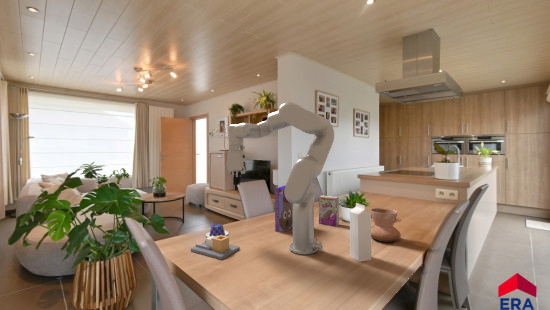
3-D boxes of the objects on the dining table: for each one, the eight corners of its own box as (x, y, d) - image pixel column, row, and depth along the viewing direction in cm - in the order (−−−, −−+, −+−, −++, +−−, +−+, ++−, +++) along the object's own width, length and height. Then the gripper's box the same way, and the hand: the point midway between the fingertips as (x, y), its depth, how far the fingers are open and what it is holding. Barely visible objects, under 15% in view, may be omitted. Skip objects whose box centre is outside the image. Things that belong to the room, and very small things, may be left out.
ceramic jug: (408, 240, 121) (407, 210, 121) (394, 247, 111) (394, 215, 112) (373, 231, 135) (372, 205, 135) (358, 237, 125) (358, 209, 125)
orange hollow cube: (229, 248, 110) (229, 236, 110) (221, 252, 106) (221, 240, 106) (220, 246, 113) (220, 235, 113) (212, 249, 108) (212, 238, 108)
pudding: (221, 240, 124) (221, 229, 124) (200, 238, 128) (200, 227, 128) (232, 232, 136) (232, 222, 136) (213, 230, 139) (212, 221, 139)
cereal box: (282, 232, 134) (282, 188, 133) (275, 231, 136) (274, 187, 136) (297, 224, 149) (296, 184, 148) (290, 223, 151) (289, 183, 151)
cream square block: (219, 245, 113) (218, 235, 112) (212, 249, 109) (212, 238, 109) (212, 244, 115) (212, 234, 115) (206, 247, 111) (205, 237, 111)
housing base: (239, 249, 112) (239, 237, 112) (221, 259, 101) (221, 247, 101) (210, 242, 121) (210, 231, 121) (190, 251, 110) (190, 239, 110)
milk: (358, 262, 98) (358, 206, 97) (349, 255, 104) (349, 203, 103) (371, 259, 100) (371, 205, 99) (362, 253, 105) (361, 202, 105)
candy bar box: (318, 223, 149) (318, 196, 149) (321, 221, 153) (321, 195, 153) (336, 226, 143) (336, 198, 143) (339, 224, 147) (339, 196, 147)
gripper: (252, 148, 126) (252, 184, 127) (229, 149, 134) (230, 182, 134) (243, 148, 120) (243, 186, 120) (220, 149, 127) (220, 184, 128)
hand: (236, 184), depth 127 cm, fingers closed
